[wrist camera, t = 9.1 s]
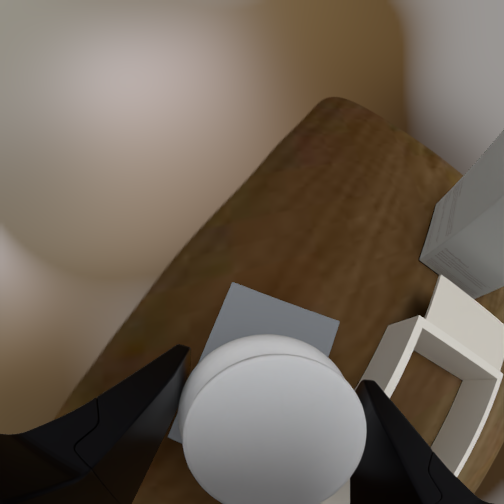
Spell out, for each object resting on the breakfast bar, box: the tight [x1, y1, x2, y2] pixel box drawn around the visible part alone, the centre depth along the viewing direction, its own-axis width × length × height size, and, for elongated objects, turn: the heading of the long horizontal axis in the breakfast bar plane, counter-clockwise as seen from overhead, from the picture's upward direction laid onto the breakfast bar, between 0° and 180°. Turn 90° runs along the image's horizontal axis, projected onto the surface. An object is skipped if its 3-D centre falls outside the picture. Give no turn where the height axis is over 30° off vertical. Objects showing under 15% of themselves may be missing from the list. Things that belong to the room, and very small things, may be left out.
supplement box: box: [420, 130, 504, 299], centre depth 16 cm, size 7×7×13 cm
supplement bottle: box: [178, 334, 367, 504], centre depth 9 cm, size 5×5×10 cm
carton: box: [319, 275, 504, 504], centre depth 15 cm, size 17×10×4 cm, turn 147°
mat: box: [168, 282, 340, 444], centre depth 18 cm, size 12×8×1 cm, turn 159°
